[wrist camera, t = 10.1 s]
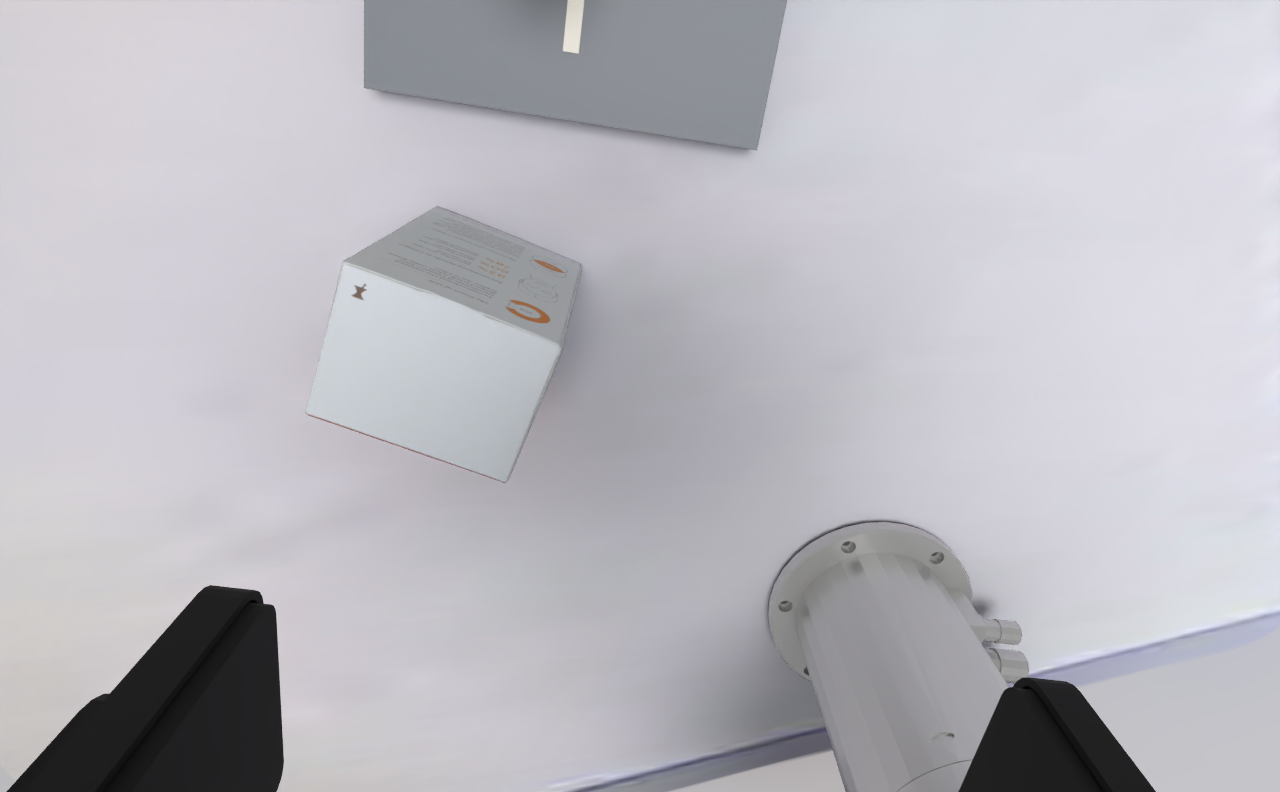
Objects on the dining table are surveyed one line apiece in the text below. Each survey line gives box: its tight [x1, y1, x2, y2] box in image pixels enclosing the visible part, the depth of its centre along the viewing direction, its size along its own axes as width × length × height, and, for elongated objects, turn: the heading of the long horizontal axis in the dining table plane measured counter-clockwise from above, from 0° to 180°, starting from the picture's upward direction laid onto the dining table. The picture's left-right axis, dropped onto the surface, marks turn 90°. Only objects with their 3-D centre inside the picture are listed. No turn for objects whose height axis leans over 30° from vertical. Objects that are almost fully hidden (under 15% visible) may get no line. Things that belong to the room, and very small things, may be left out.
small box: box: [305, 207, 582, 483], centre depth 32 cm, size 8×6×13 cm
